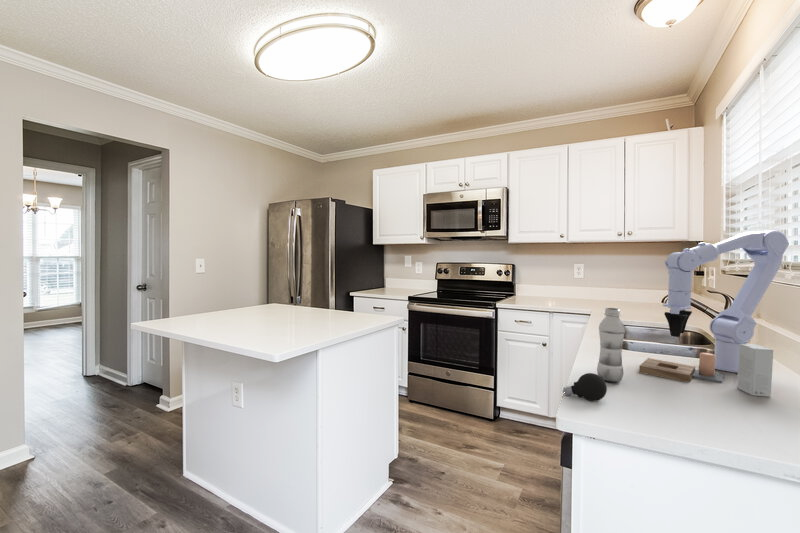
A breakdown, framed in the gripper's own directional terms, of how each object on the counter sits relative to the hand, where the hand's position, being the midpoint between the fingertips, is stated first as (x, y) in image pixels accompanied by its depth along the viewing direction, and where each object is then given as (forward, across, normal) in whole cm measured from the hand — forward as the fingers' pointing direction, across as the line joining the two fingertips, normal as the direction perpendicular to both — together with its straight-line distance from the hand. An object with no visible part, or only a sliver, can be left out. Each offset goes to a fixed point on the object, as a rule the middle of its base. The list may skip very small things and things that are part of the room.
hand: (677, 334), depth 119 cm
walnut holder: (+10, +8, -1) cm, 13 cm away
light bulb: (+11, +48, -11) cm, 51 cm away
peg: (+10, +4, +8) cm, 13 cm away
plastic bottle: (+11, +29, -11) cm, 33 cm away
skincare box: (+11, +11, +18) cm, 24 cm away
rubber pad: (+10, +4, +8) cm, 14 cm away
